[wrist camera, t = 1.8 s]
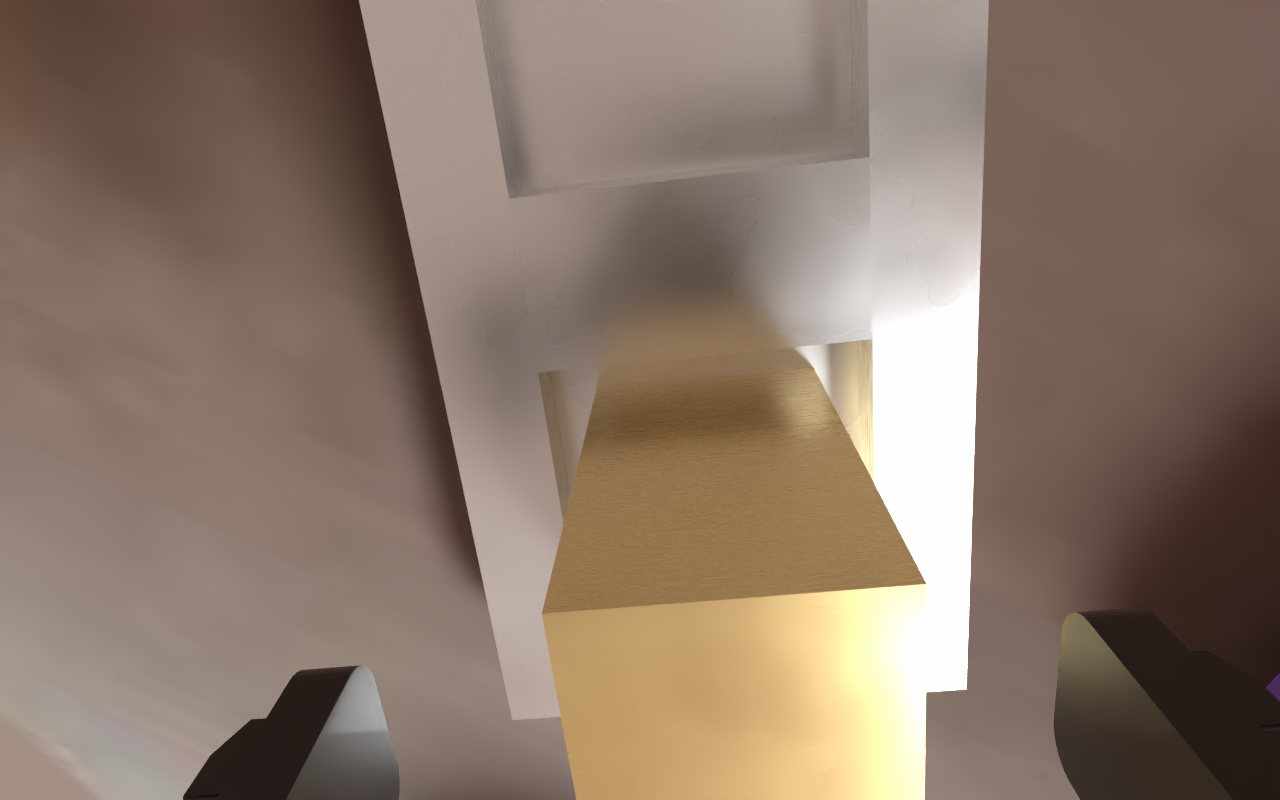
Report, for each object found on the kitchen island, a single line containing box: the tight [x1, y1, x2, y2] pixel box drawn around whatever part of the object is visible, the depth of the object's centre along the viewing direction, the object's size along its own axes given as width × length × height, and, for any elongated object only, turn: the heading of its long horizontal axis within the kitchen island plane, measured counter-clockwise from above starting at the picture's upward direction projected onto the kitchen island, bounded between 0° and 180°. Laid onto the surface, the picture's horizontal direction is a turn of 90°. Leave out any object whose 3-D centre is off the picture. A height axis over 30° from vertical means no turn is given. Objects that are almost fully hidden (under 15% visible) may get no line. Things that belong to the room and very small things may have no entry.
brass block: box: [542, 367, 927, 800], centre depth 12 cm, size 4×4×7 cm
